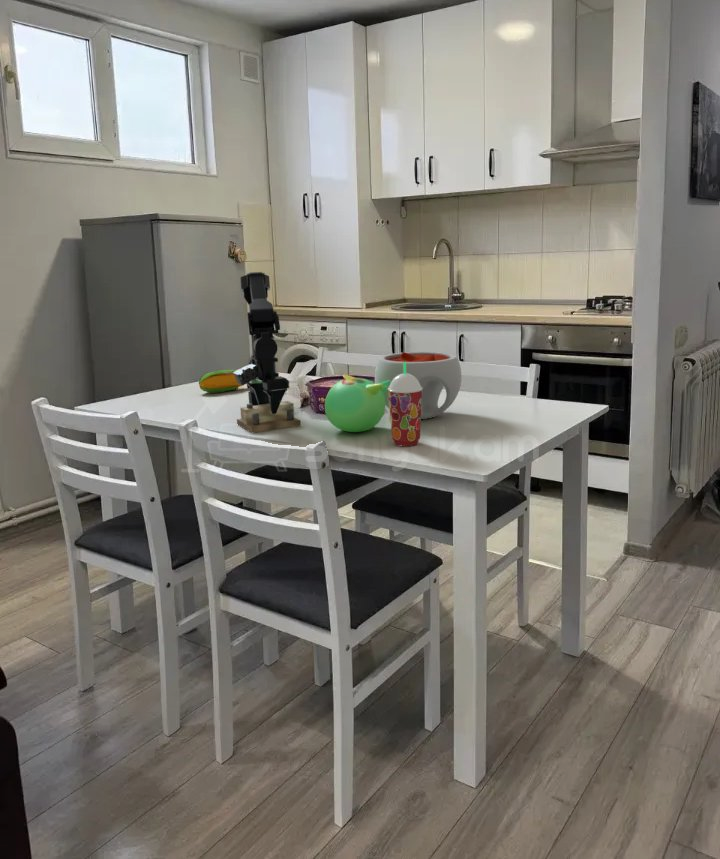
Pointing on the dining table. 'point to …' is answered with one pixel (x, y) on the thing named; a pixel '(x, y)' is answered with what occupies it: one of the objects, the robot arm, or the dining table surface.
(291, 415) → the peg rest
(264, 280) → the robot arm
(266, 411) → the wooden block
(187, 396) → the dining table surface
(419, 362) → the pot
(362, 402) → the toy bird
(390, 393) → the smoothie
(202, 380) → the corn
